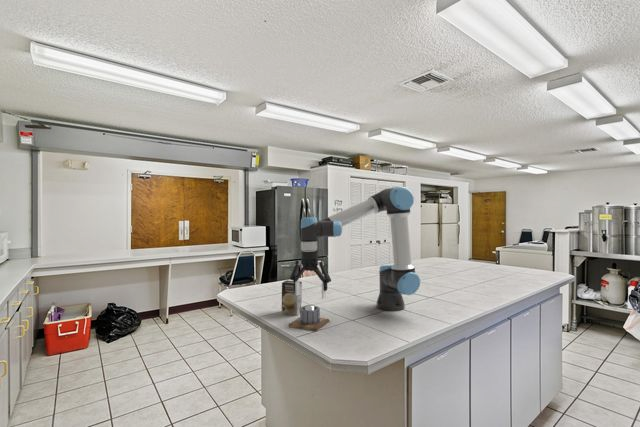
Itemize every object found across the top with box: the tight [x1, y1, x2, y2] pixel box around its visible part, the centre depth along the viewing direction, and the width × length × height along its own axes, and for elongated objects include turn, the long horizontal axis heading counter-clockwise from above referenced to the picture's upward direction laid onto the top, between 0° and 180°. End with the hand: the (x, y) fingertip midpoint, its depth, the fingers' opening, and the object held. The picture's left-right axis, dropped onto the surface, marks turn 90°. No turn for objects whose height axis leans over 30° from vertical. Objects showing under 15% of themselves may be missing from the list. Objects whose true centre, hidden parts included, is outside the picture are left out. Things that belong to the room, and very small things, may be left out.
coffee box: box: [281, 279, 303, 316], centre depth 161 cm, size 9×6×16 cm
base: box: [288, 316, 330, 332], centre depth 144 cm, size 14×14×1 cm
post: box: [304, 304, 315, 311], centre depth 144 cm, size 4×4×7 cm
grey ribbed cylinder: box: [299, 305, 321, 325], centre depth 144 cm, size 9×9×6 cm
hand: (310, 296), depth 145 cm, fingers open, 13 cm apart
